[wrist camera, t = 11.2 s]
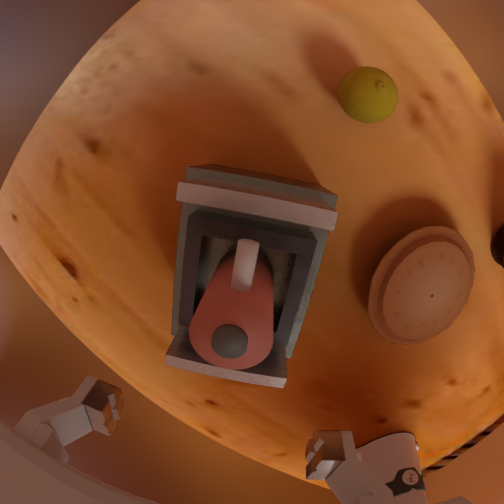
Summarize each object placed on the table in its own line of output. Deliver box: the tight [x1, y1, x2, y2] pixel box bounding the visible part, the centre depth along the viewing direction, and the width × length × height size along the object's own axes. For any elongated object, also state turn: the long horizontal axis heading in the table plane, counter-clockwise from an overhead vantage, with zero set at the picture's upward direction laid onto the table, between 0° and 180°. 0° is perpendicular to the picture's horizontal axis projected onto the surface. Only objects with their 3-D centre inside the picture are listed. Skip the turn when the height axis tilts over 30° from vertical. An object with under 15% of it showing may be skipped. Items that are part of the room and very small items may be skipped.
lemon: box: [338, 67, 398, 123], centre depth 22 cm, size 6×6×8 cm
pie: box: [368, 226, 475, 345], centre depth 29 cm, size 15×16×5 cm
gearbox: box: [166, 164, 338, 388], centre depth 26 cm, size 20×12×13 cm, turn 170°
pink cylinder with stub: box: [189, 239, 273, 370], centre depth 19 cm, size 8×5×10 cm, turn 170°
